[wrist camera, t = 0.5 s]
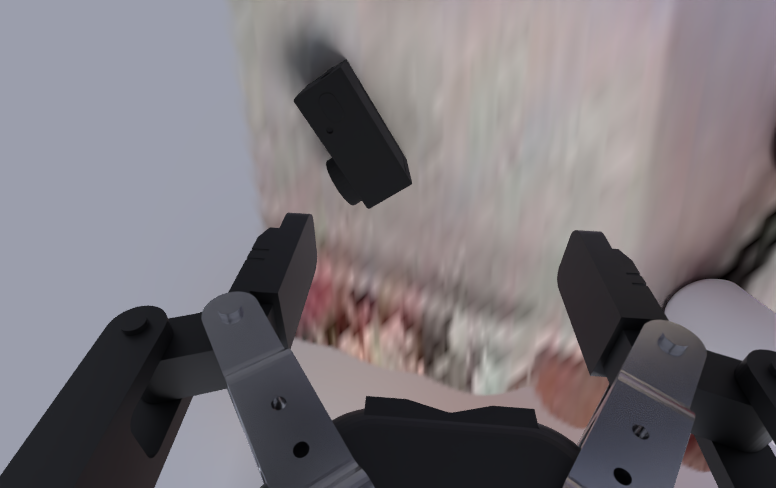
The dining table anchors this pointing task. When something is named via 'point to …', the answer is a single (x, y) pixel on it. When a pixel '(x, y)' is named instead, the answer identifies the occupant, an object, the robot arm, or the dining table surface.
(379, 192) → the digital camera
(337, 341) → the dining table surface
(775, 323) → the alcohol
